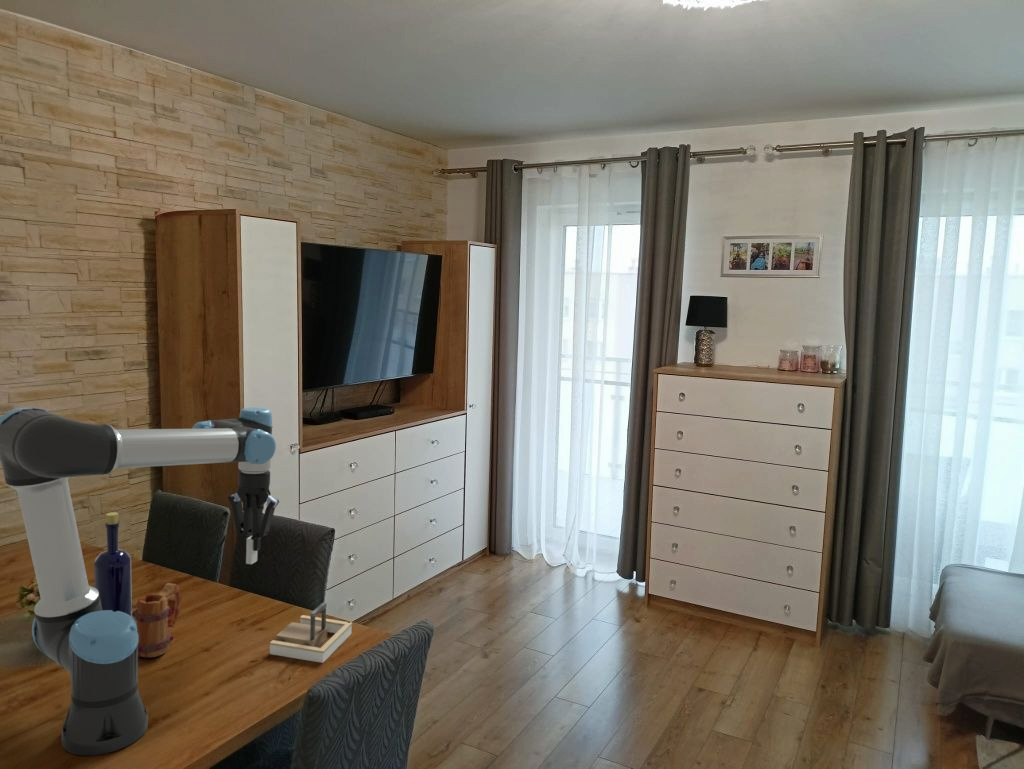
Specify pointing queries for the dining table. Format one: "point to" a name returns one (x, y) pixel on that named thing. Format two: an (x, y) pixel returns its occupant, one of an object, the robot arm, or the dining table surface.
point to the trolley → (306, 630)
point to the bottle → (113, 572)
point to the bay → (309, 652)
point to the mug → (157, 620)
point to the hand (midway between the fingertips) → (251, 562)
